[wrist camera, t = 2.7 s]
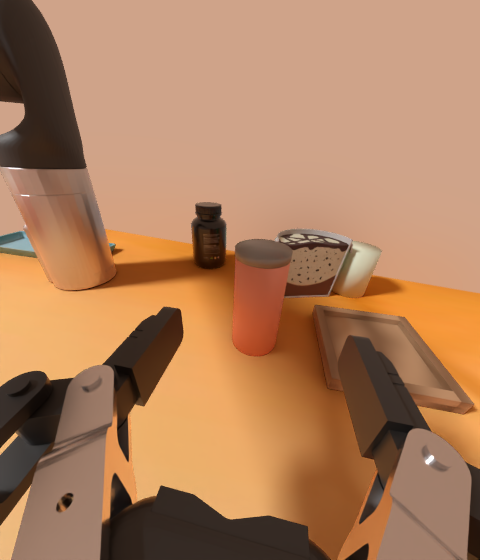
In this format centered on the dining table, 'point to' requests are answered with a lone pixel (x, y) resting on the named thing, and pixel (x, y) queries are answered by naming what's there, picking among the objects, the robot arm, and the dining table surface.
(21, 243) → the shallow long dish
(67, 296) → the dining table surface
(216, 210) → the supplement bottle
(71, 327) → the dining table surface
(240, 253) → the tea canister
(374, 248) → the sage tin
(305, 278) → the food container
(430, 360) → the tray
